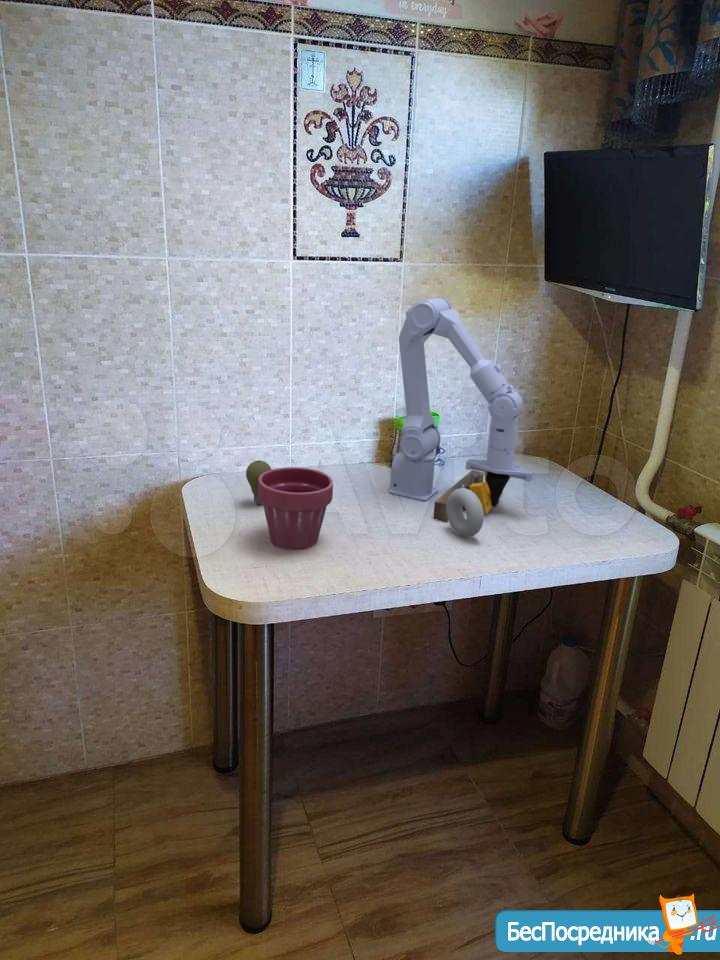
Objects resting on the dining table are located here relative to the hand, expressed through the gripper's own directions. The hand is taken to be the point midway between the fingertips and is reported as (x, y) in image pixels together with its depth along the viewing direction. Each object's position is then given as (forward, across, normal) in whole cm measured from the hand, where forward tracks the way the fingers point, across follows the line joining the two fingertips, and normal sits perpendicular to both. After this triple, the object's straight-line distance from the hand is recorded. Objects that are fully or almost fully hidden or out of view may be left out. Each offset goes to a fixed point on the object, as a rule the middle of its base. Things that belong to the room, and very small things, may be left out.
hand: (495, 505), depth 157 cm
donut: (+2, +2, +16) cm, 17 cm away
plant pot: (+1, +29, +37) cm, 47 cm away
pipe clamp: (+1, +2, -1) cm, 3 cm away
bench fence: (+1, +8, 0) cm, 8 cm away
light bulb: (+1, +45, +26) cm, 52 cm away
